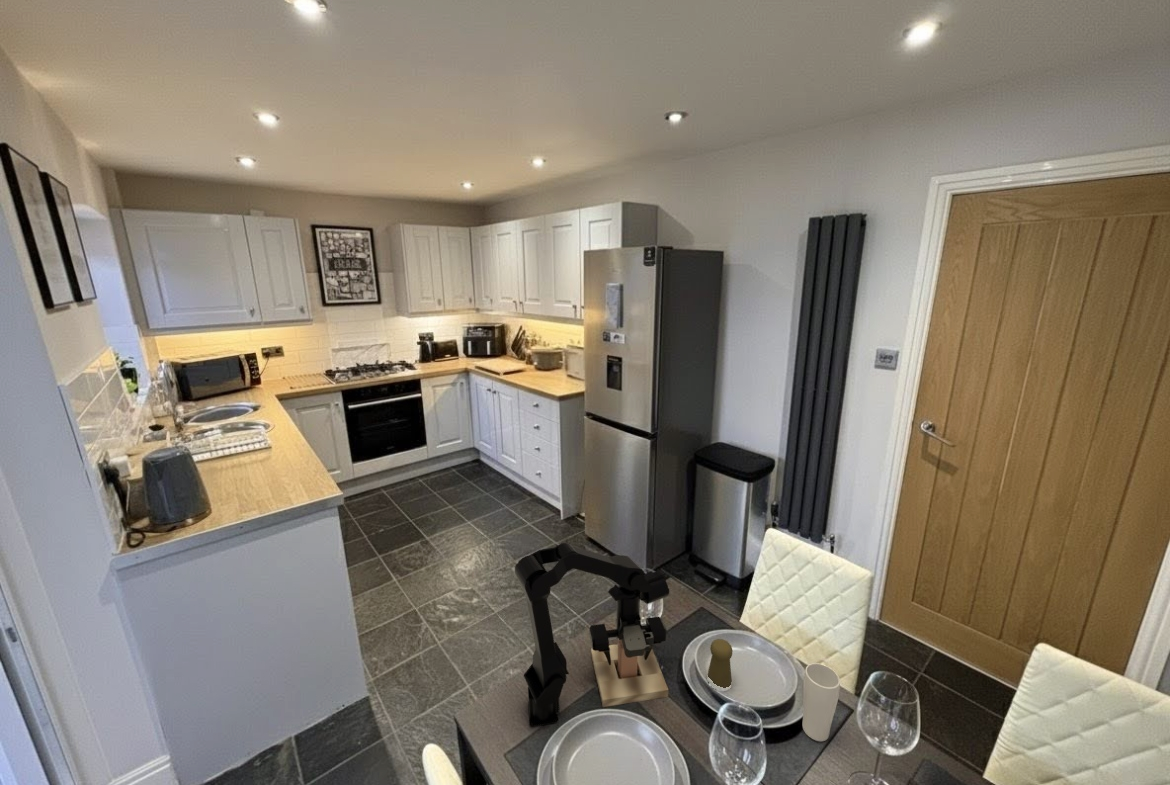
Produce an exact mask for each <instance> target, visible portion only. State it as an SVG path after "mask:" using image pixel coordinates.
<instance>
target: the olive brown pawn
mask: <svg viewBox="0 0 1170 785" xmlns="http://www.w3.org/2000/svg"><path fill="white" fill-rule="evenodd" d="M709 648H710V654H711V659H710V663H709V668H708V670H707V675H708V677H709V678H710V679H711V680H712V681H713V683H714V684H716V685H717V686H720V687H723V688H726V687H729V686H730V685H731V682H732V683H733V679H732V669H731V668H732V667H731V658H732V657H733V648H732V645H731V644H730V642H729V641H728V640H726V639H723V638H715V639H713V641H712V642H711V644H710V647H709Z"/></svg>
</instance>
